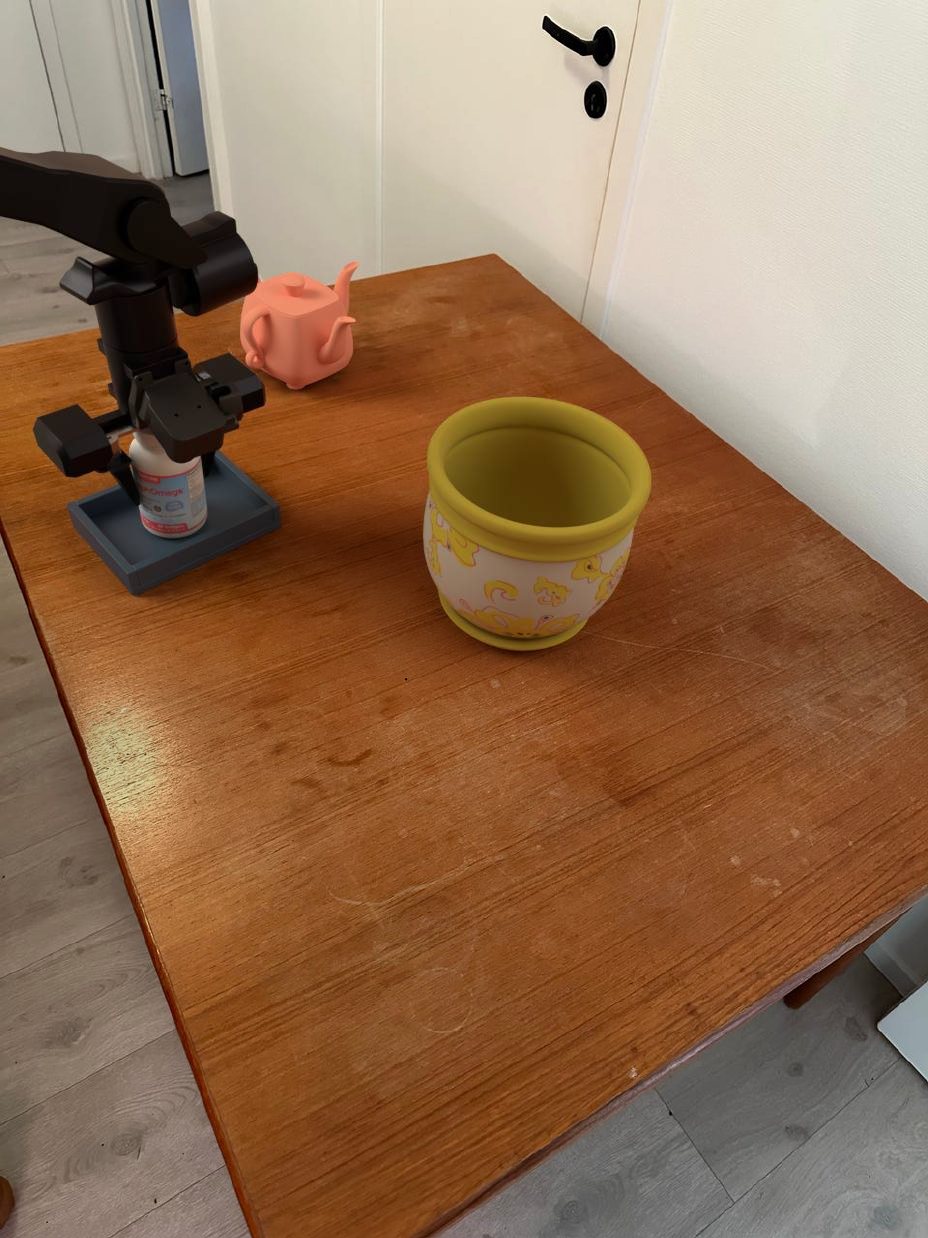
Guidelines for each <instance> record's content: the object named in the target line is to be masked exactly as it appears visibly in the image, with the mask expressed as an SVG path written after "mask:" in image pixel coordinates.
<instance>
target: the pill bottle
mask: <svg viewBox="0 0 928 1238" xmlns="http://www.w3.org/2000/svg"><path fill="white" fill-rule="evenodd" d="M132 435H133V437H134V439H133V440H132V441H131V443H130V445H129V448H128V456H129V457H130V458H131V459H132V463H131V464H130V469H131V472H132V475H133V477H134V480H135V483H136V486H137V489H138V492H139V496H140V503H141V504H140V505H139V510H140V515H141V519H142V523H143V525H144V527H145V528H146V529H147V530H148V531H149V532H151V533H152V534H154V535H157V536H160V537H164V538H181V537H186V536H189V535H191V534H193V533H195V532H197V531H198V530H199V529H200V528H201V527H202V526H203V525H204V523H205V521H206V518H207V505H206V496H205V488H204V480H203V471H202V463H201V456H199V457H196V458H194V459H193V460H191V461H190V462H187V463H183V464H180V463H175V462H173V461H172V460H171V459H170V458H169V457H168V456H167V454H166V452H165V450H164V449H163V447H162V446H161V445H160V443H159V442H158V440H157V439H156V438H155V436H154V435H153V433H152V432H151V431H150V429H149V427H148V428H145V429H143V430H139V431H136V432H134V433H132Z"/></svg>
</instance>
